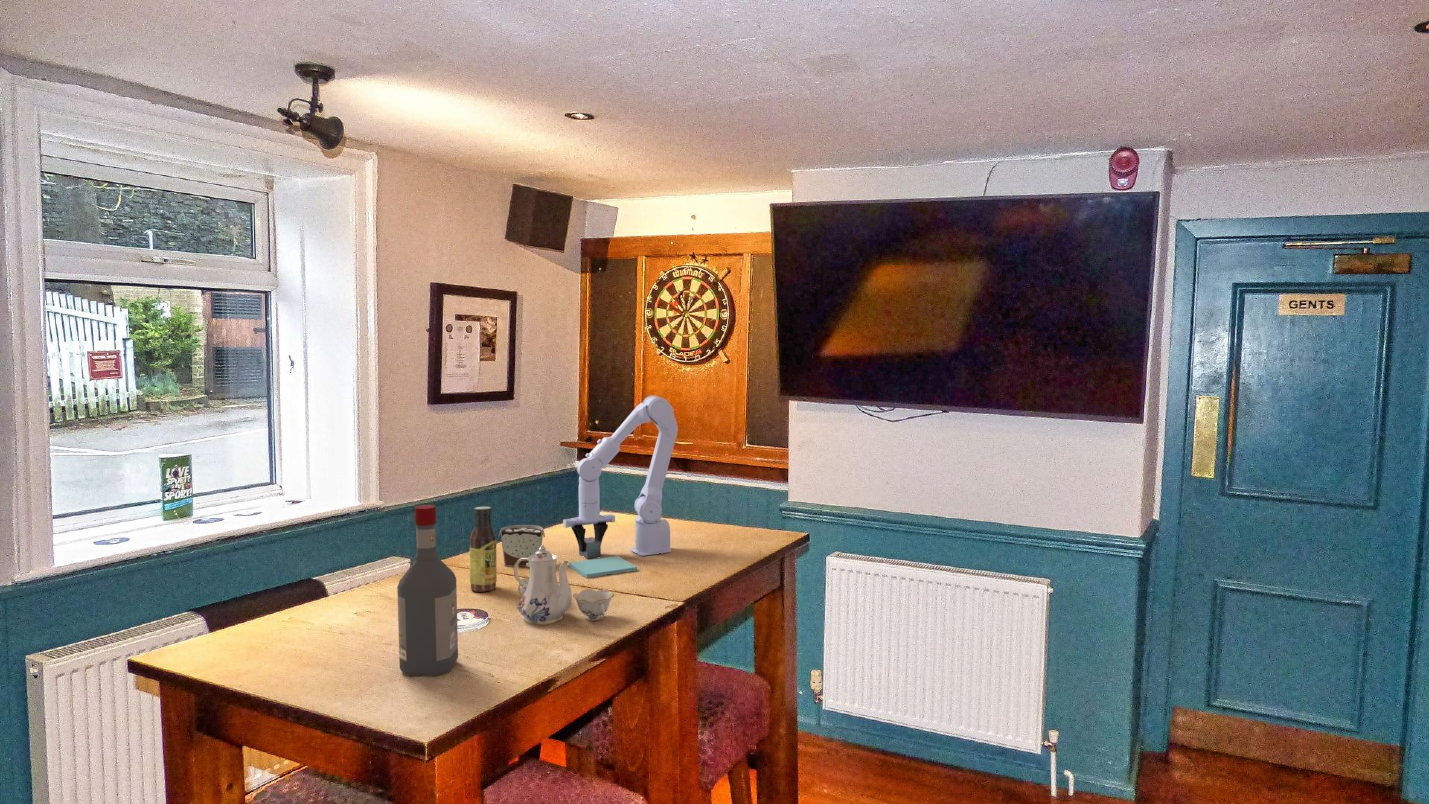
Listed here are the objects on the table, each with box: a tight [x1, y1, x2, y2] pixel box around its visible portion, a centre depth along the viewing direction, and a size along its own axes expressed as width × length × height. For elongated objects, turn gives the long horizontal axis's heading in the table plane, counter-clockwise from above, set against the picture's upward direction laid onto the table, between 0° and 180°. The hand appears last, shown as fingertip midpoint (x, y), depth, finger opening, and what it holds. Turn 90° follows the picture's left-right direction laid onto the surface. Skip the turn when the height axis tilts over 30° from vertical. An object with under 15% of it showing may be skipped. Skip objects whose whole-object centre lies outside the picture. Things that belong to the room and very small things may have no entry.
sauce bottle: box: [469, 506, 498, 593], centre depth 210 cm, size 7×6×20 cm
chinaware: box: [513, 544, 615, 625], centre depth 191 cm, size 28×17×17 cm, turn 59°
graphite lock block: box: [578, 536, 602, 560], centre depth 242 cm, size 4×6×4 cm, turn 30°
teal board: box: [567, 555, 638, 579], centre depth 229 cm, size 14×13×1 cm
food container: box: [498, 524, 546, 567], centre depth 234 cm, size 12×6×10 cm, turn 84°
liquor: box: [397, 504, 459, 678], centre depth 160 cm, size 9×9×30 cm
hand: (589, 550), depth 242 cm, fingers closed on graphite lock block, 4 cm apart
